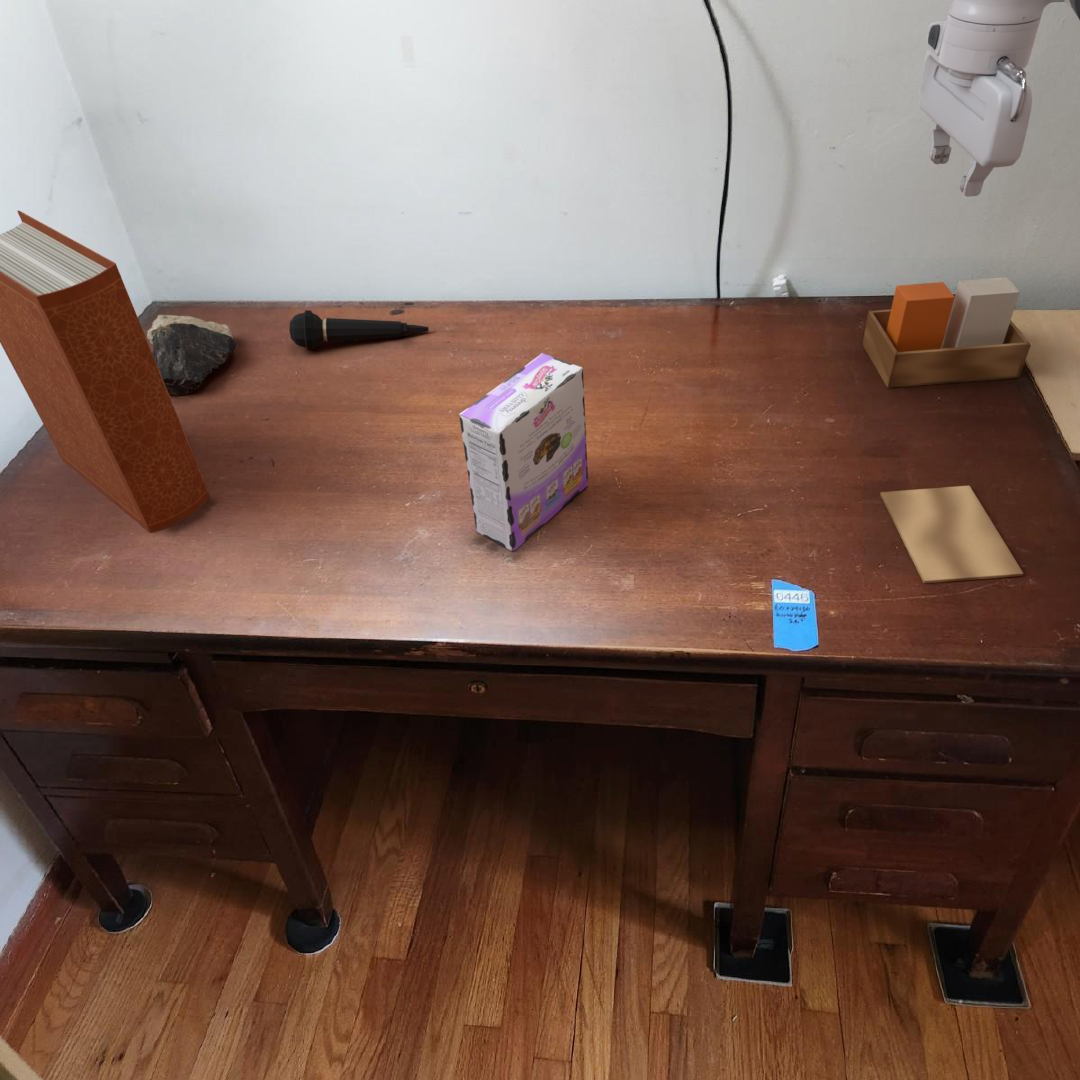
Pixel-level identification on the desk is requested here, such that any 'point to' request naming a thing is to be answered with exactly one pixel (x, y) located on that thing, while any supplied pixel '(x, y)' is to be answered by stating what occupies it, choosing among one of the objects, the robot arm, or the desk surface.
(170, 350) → the mineral specimen
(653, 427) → the desk surface
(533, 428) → the candy box
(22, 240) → the book
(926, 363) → the wooden box
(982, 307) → the block
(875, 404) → the desk surface
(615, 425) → the desk surface
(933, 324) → the block
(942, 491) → the cork mat
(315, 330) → the microphone
